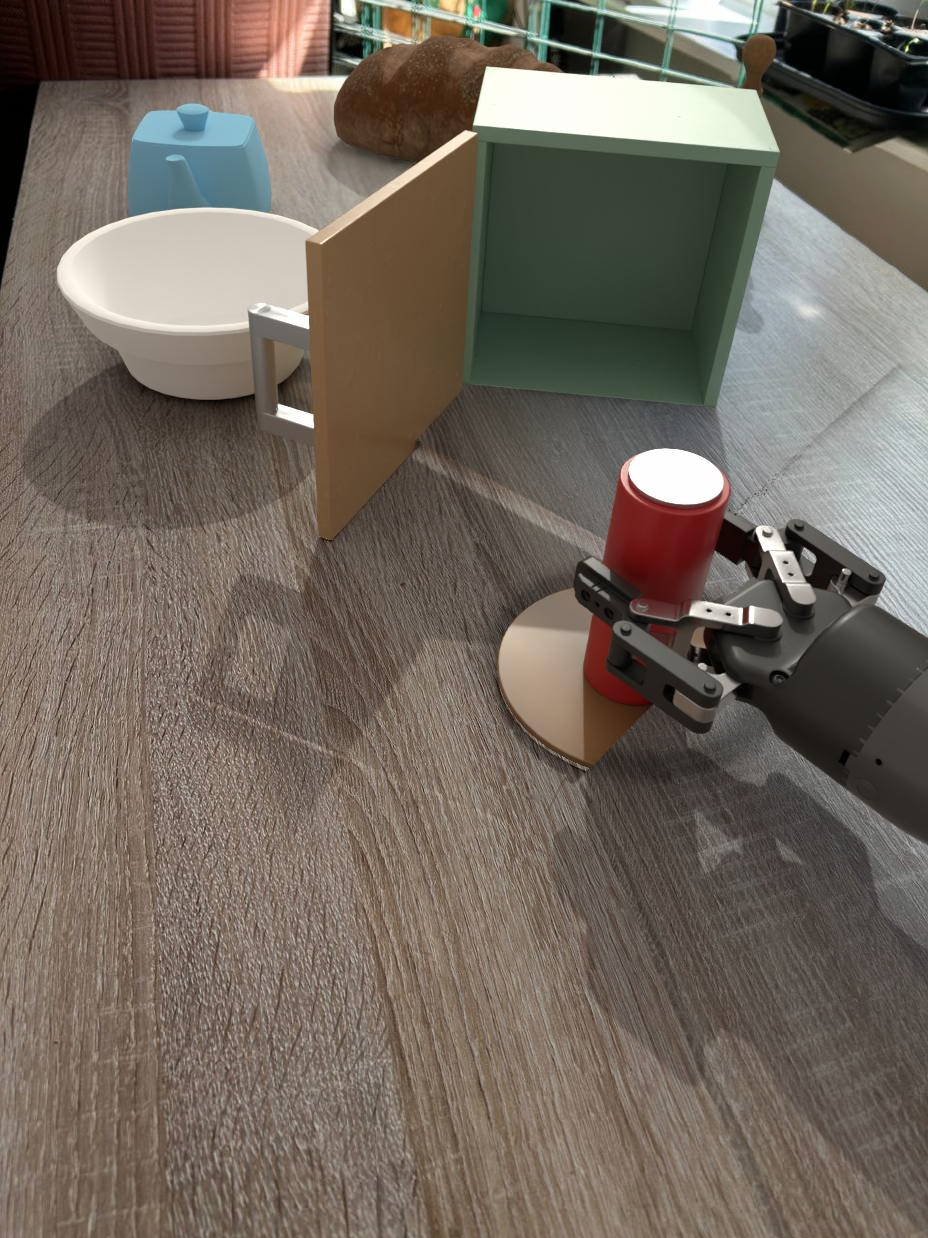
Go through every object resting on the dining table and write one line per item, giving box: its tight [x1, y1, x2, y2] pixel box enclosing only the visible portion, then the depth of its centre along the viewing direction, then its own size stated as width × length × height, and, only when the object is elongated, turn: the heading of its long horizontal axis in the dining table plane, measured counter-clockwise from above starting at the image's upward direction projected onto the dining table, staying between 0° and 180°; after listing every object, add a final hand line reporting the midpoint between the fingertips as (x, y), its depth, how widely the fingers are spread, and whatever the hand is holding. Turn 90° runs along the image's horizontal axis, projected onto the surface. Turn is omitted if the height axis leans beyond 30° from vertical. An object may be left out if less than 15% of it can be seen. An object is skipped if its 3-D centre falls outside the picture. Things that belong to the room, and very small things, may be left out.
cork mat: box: [496, 586, 706, 769], centre depth 61 cm, size 15×15×1 cm
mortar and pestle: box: [738, 33, 777, 100], centre depth 103 cm, size 7×6×18 cm
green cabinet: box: [462, 67, 781, 408], centre depth 81 cm, size 13×20×20 cm, turn 85°
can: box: [583, 448, 732, 706], centre depth 56 cm, size 5×5×14 cm
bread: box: [333, 35, 565, 163], centre depth 118 cm, size 16×29×11 cm, turn 85°
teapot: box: [127, 103, 273, 218], centre depth 96 cm, size 12×18×12 cm
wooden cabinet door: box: [248, 130, 478, 541], centre depth 69 cm, size 6×20×20 cm, turn 155°
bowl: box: [56, 208, 320, 401], centre depth 81 cm, size 21×21×8 cm
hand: (637, 541), depth 55 cm, fingers open, 8 cm apart
